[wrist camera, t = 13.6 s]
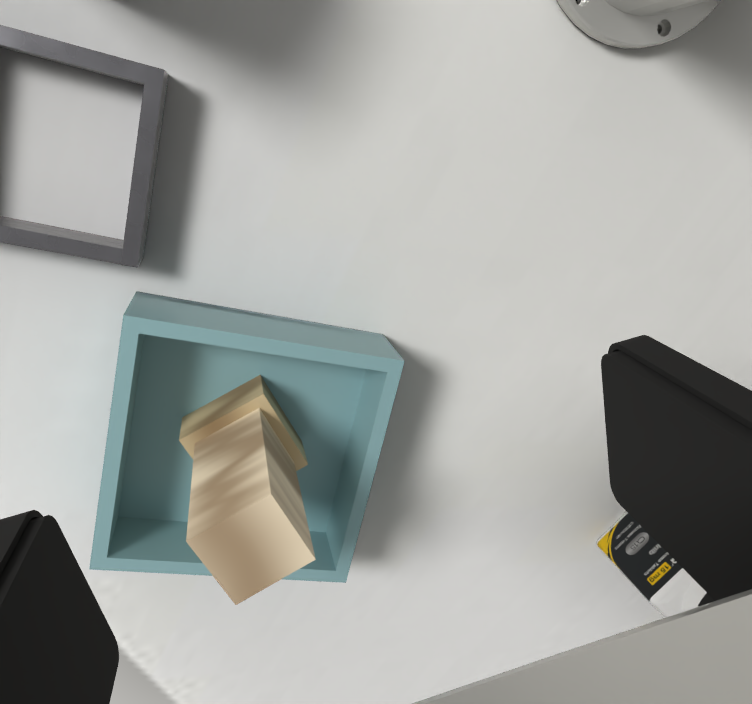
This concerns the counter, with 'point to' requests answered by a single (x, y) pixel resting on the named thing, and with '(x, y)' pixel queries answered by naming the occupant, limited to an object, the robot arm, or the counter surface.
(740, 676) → the robot arm
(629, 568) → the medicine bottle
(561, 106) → the counter surface
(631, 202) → the counter surface
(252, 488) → the strut
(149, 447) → the bin
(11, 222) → the collar
